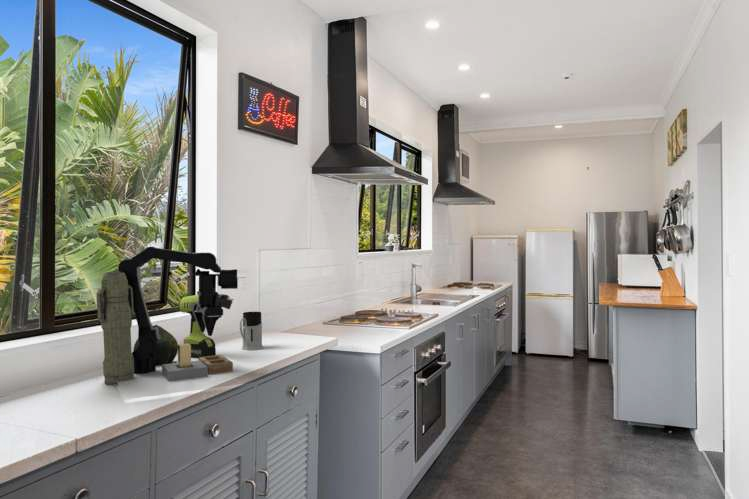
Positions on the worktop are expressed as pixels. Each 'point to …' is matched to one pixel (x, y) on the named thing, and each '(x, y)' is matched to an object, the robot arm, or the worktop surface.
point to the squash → (164, 347)
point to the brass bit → (184, 355)
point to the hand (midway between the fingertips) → (206, 333)
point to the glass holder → (251, 331)
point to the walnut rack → (217, 364)
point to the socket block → (184, 371)
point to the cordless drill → (197, 331)
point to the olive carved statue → (116, 326)
